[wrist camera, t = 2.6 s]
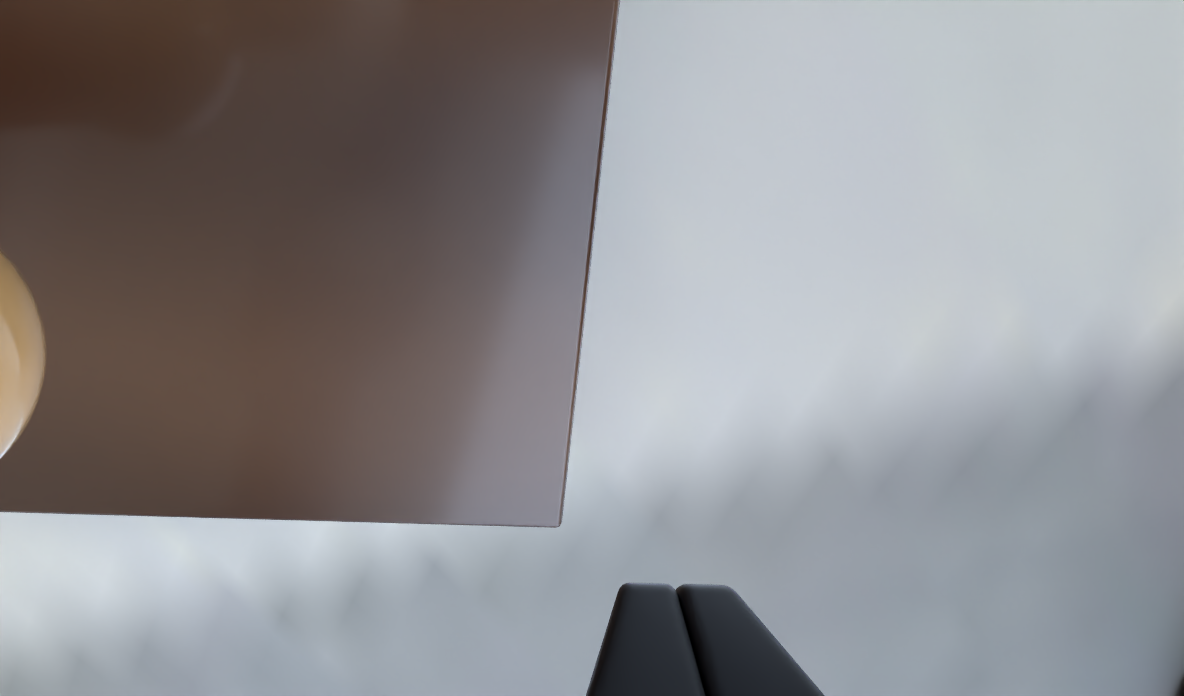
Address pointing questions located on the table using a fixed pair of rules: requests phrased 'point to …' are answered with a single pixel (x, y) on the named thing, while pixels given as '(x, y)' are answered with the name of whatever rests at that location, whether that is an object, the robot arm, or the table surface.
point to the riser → (303, 253)
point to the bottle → (18, 353)
